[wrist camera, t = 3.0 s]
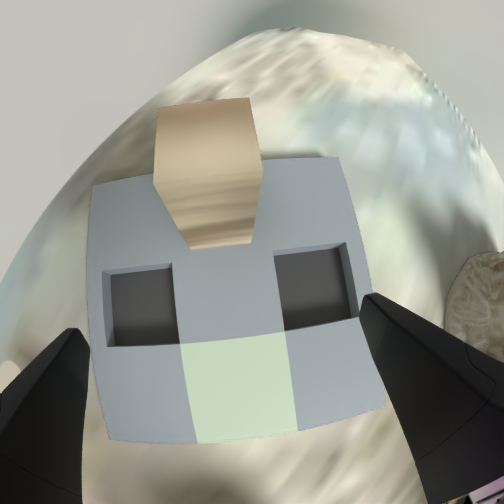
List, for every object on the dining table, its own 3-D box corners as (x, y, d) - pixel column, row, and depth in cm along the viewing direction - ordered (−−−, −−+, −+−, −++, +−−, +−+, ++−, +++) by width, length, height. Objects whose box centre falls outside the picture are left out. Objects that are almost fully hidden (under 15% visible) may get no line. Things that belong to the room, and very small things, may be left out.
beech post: (250, 243, 20) (263, 170, 11) (190, 250, 20) (153, 184, 10) (243, 189, 21) (248, 97, 12) (187, 196, 21) (158, 108, 11)
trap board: (374, 400, 19) (385, 405, 17) (118, 432, 17) (109, 439, 15) (331, 168, 25) (338, 157, 23) (101, 195, 23) (92, 185, 21)
